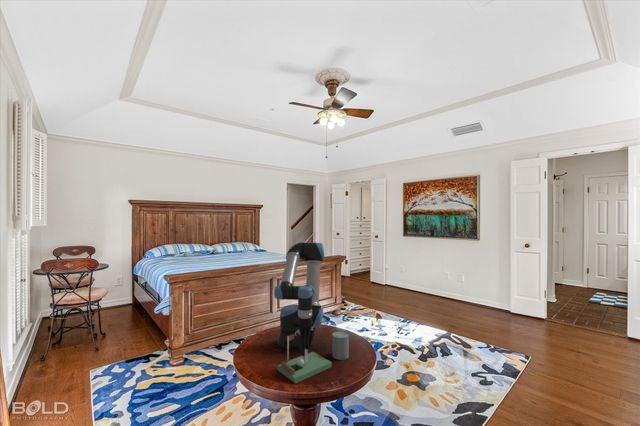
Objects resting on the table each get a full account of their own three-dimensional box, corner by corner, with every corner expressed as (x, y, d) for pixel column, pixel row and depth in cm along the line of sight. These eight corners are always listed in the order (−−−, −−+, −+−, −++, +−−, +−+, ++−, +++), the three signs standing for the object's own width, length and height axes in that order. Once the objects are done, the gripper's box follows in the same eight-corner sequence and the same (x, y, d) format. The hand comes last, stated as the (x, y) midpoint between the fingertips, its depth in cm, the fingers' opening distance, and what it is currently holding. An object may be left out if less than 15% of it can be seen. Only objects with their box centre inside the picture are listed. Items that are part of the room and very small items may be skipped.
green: (277, 370, 159) (277, 338, 159) (312, 355, 175) (313, 327, 175) (295, 383, 147) (295, 349, 147) (331, 366, 163) (331, 336, 163)
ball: (301, 356, 162) (300, 363, 161) (295, 357, 159) (294, 365, 159) (306, 358, 159) (305, 366, 159) (300, 360, 156) (299, 368, 156)
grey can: (347, 360, 170) (348, 338, 170) (330, 358, 172) (331, 337, 172) (349, 352, 179) (349, 331, 179) (333, 351, 181) (333, 330, 181)
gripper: (299, 321, 154) (299, 368, 154) (319, 315, 162) (318, 359, 162) (290, 317, 159) (290, 362, 159) (310, 312, 168) (309, 354, 168)
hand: (304, 361), depth 161 cm, fingers closed
